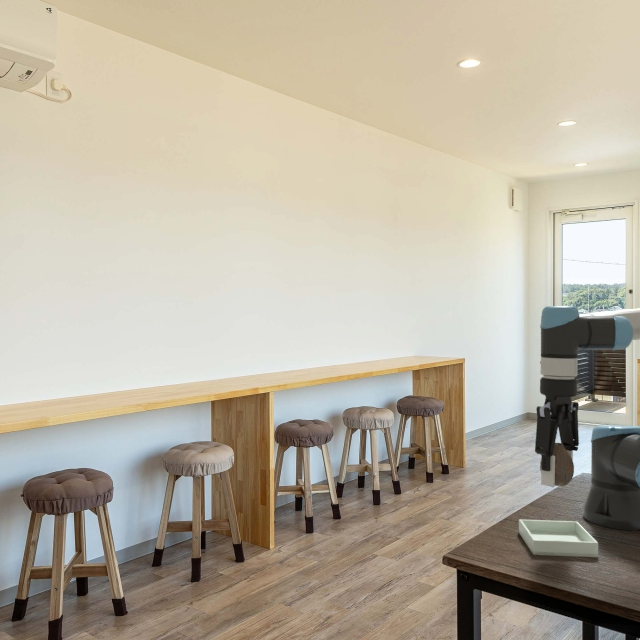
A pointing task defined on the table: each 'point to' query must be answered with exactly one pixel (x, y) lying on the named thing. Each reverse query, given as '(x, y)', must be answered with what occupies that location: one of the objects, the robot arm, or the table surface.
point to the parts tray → (557, 538)
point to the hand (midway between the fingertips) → (556, 482)
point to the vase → (562, 465)
